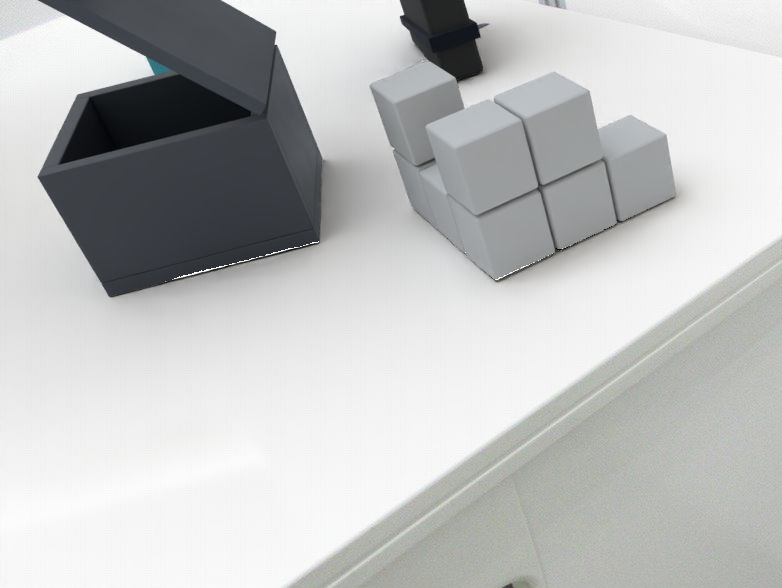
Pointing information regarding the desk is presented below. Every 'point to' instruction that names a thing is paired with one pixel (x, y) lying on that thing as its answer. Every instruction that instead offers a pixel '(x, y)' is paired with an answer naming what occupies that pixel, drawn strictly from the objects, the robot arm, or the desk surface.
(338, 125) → the desk surface
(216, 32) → the compartment lid
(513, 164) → the puzzle cube
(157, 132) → the compartment
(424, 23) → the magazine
